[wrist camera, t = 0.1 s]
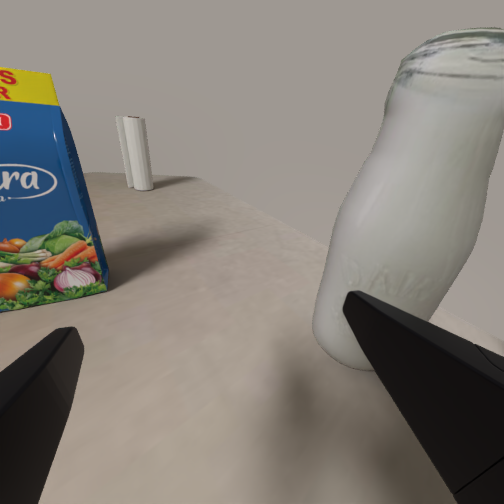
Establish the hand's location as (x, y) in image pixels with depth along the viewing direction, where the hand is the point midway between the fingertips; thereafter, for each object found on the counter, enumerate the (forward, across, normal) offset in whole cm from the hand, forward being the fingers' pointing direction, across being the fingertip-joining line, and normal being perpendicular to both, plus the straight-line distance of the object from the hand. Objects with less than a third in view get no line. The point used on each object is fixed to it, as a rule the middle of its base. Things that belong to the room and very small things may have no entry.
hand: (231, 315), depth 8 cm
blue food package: (+26, +19, +16) cm, 36 cm away
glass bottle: (+9, -16, +17) cm, 25 cm away
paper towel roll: (+81, +16, +16) cm, 84 cm away
